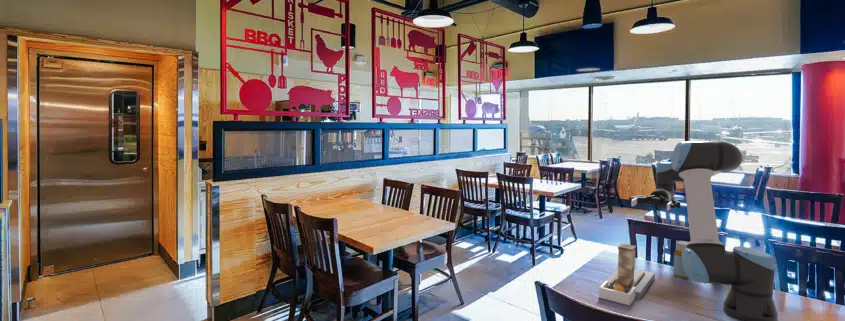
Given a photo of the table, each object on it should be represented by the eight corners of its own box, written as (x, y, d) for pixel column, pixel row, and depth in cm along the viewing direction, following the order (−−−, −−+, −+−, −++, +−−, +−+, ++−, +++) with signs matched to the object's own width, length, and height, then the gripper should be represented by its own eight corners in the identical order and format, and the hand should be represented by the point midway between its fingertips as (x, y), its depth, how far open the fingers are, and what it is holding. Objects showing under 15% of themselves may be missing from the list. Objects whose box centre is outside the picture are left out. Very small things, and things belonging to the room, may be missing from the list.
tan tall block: (634, 281, 171) (636, 245, 169) (629, 288, 165) (630, 251, 163) (620, 278, 174) (621, 243, 173) (614, 284, 168) (616, 248, 166)
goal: (635, 298, 162) (636, 287, 161) (629, 306, 155) (629, 294, 154) (605, 290, 169) (606, 280, 168) (598, 298, 162) (599, 287, 161)
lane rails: (644, 274, 179) (644, 271, 178) (632, 290, 163) (632, 287, 162) (624, 270, 184) (624, 267, 184) (609, 285, 168) (609, 282, 168)
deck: (654, 278, 181) (654, 272, 181) (639, 298, 161) (640, 292, 161) (620, 270, 190) (620, 265, 189) (602, 289, 170) (602, 283, 170)
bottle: (669, 274, 184) (671, 241, 183) (680, 272, 187) (681, 239, 186) (685, 280, 178) (687, 246, 176) (695, 277, 181) (697, 244, 179)
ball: (623, 289, 160) (623, 298, 161) (625, 284, 163) (625, 294, 164) (612, 286, 163) (612, 295, 164) (615, 282, 166) (615, 291, 167)
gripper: (691, 209, 187) (683, 218, 171) (630, 202, 203) (618, 210, 187) (691, 192, 186) (684, 200, 170) (631, 186, 202) (618, 193, 186)
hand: (649, 205), depth 178 cm, fingers open, 13 cm apart
